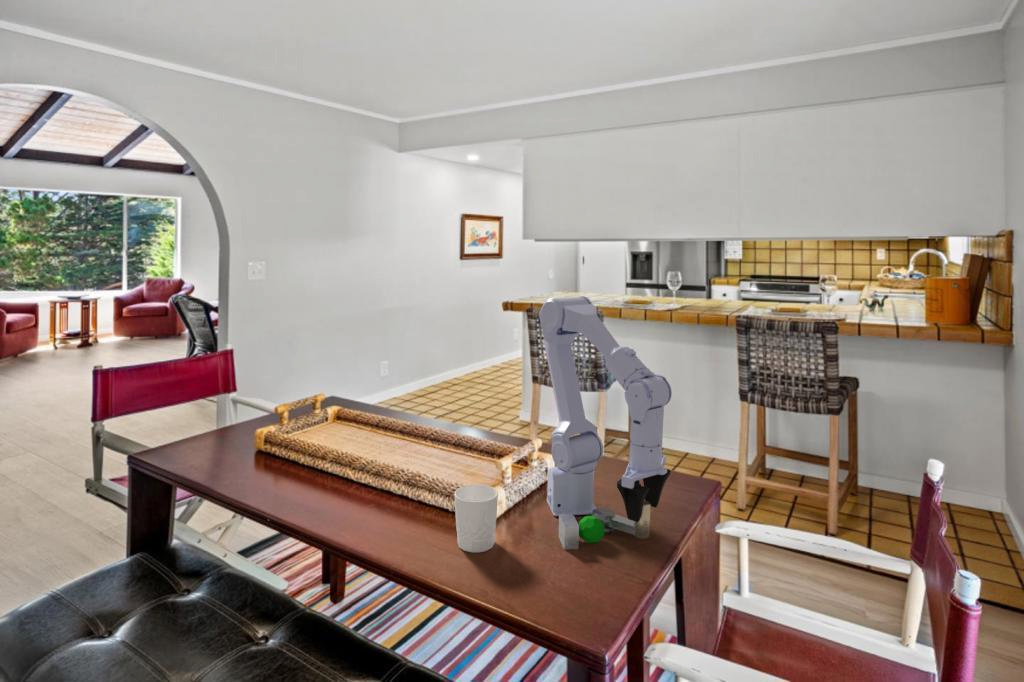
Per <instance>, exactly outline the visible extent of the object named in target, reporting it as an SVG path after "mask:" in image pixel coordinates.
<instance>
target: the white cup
mask: <svg viewBox="0 0 1024 682" xmlns="http://www.w3.org/2000/svg"><path fill="white" fill-rule="evenodd" d="M498 492H499V491H498V490H497V489H496V488H495V487H492V486H491V485H487V484H481V483H479V484H467V485H464V486H460V487H459V488H456V490H455V491H454V492H453V493H454V513H455V514H454V515H455V526H456V527H455V528H456V533H457V535H456V537H457V545H458V548H459V549H461V550H462V551H463V552H467V553H468V552H469V553H484V552H487V551H489V550H490V549H493V547H494V545H495V542H496V541H495V540H496V529H497V528H496V527H497V517H498V502H499V501H498V500H499V499H498V498H499V493H498Z"/></svg>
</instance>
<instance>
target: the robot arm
mask: <svg viewBox="0 0 1024 682" xmlns="http://www.w3.org/2000/svg"><path fill="white" fill-rule="evenodd" d="M538 317H539V321H540V326H541V331H542V336H543V343H544V348H545V354H546V358H547V363H548V364H547V365H548V370H549V374H550V379H551V385H552V389H553V390H552V391H553V395H554V401H555V406H556V410H557V415H558V420H559V421H558V422H559V424H558V425H557V426H556V428H555V429H554V430H553V431H552V433H551V435H550V436H551V443H552V444H551V457H552V461H553V462H554V464H555V465H556V466H553V467H550V468H548V471H547V495H546V496H547V497H546V502H547V505H548V507H549V508H550V511H551V512H552V515H553V516H554V517H559V514H571V513H573V515H574V516H582V515H583V516H584V515H587V516H588V515H592V511H593V510H594V509H597V508H598V507H597V506H596V505H595V502H594V487H595V486H594V485H595V468H596V467H597V466H598V461H599V460H601V459H602V458H603V454H604V445H603V442H602V439H601V437H600V436H599V434H598V431H597V426H596V425H595V424H594V423H593V422H591V421H590V420H589V419H587V418H586V415H585V409H584V405H583V399H582V394H581V389H580V383H579V379H578V374H577V369H576V364H575V363H576V362H575V358H574V354H573V349H572V343H573V341H574V340H575V339H576V338H578V336H579V335H580V334H582V335H583V336H584V337H585V338H586V340H588V341H589V342H590V343H591V344H592V345H593V346H594V348H595V349H597V351H599V353H600V354H602V356H604V358H605V361H604V362H605V365H604V366H605V368H606V369H607V371H608V372H609V373H610V374H611V375H612V377H613V378H614V379H615V380H616V382H617V383H618V384H619V385H620V386H621V387H622V389H623V390H624V391H625V392H624V399H625V402H626V404H627V406H628V416H629V417H630V436H629V437H630V438H629V458H628V459H629V460H628V461H629V462H628V463H627V465H626V469H625V472H624V474H623V475H621V478H620V479H619V480H617V481H616V488H617V490H618V491H619V493H620V495H621V497H622V501H623V504H624V508H625V512H626V513H625V514H626V516H627V517H626V518H628V519H629V520H632V521H636V522H639V521H640V518H641V514H642V508H643V503H644V501H648V502H649V503H650V504H651V508H652V507H653V508H657V507H658V505H659V502H660V499H661V496H662V491H663V488H664V487H665V484H666V482H667V480H668V478H669V477H670V475H671V470H670V468H666V467H665V466H666V465H667V463H666V462H667V461H666V460H667V455H665V454H662V451H663V439H664V438H663V434H664V418H665V417H664V416H665V415H664V414H665V406H667V405H668V404H669V403H670V402H671V399H672V395H673V394H672V386H671V384H670V383H669V381H668V380H667V378H666V377H665V376H664V375H661V374H656V373H655V372H653V371H651V370H650V368H648V367H647V366H646V365H645V363H643V362H642V360H641V359H640V358H639V357H638V356H637V355H636V354H637V352H636V351H635V349H634V348H630V347H629V346H620V344H619V343H618V342H617V340H616V339H615V338H614V336H613V335H612V334H611V332H610V330H608V328H607V326H605V324H604V322H603V321H602V320H601V319H600V318H599V316H598V309H597V306H596V305H594V304H593V302H592V301H591V300H590V299H589V297H587V296H585V295H584V296H583V295H582V296H577V297H563V298H553V297H552V298H547V299H546V300H545V301H544V303H543V304H542V306H541V309H540V310H539V313H538ZM641 480H642V482H643V485H642V484H641Z"/></svg>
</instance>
